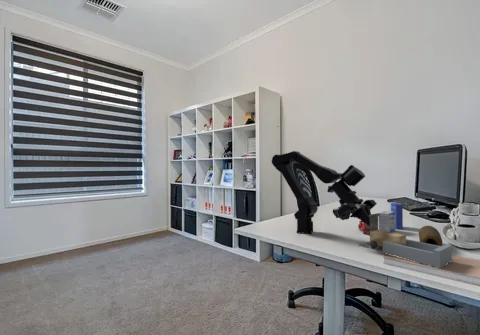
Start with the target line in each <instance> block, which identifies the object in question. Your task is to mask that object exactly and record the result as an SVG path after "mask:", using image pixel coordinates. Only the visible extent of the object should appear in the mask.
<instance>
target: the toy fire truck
mask: <svg viewBox="0 0 480 335" xmlns="http://www.w3.org/2000/svg"><path fill="white" fill-rule="evenodd" d="M358 222H359V223H358V227H357V228H358V230H359V231H360V232H362V234H365V235H370V226H368V225H367V224H366V223H364V222H363V221H361V220H359V221H358Z"/></svg>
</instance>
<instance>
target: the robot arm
mask: <svg viewBox="0 0 480 335" xmlns="http://www.w3.org/2000/svg"><path fill="white" fill-rule="evenodd" d="M293 162H296V163H297V164H298V165H301V166H302V167H304V168H306V169H307V170H308V171H311V173H313V174H314V175H315V176H316V178H317V179H318V180H320V181H321V182H322V183H323V184H332V185H328V187H327V192H328V193H331V194H332V193H335V195H336V196H337V197H338V199H339V200H338V203H339V204H340V205H339V207H338V208H333V209H332V214H333V215H334V216H335V218H336V219H340V220H342V221H344V220H349V219H350V218H355V219H358V220H359V221H363V222H364V223H366V224H367V225H368V226H370V217H369V215H371V210H372V209H373V208H374V207H375V206H376V205H377V202H376V201H375V200H374V199H366V200H364V199H363V198H359V196H357V195H356V194H357V191H356V190H352V188H350V187H356V185H358V184H359V183H360V182H361V181H363V179H364V178H366V175H365V173H364V172H363V171H362V170H361V169H359V168H358V167H355V166H354V165H353V164H350V165H349V166H348V168H346V170H345V171H343V173H341V172H338V171H336V170H335V169H332V168H330V167H326V166H323V165H320V164H318V163H317V162H315V161H314V160H313V159H311V158H309V157H307V156H305V155H304V154H302V153H300V151H295V150H293V151H289V152H286V153H283V154H274V155H273V156H272V158H271V165H272V166H273V167H274V168H275V169H276V170H277V172H280V173H281V175H282V177H283V178H284V180H285V182H286V183H287V185H288V186H289V188H290V190H291V192H292V193H293V195H294V197H295V199H296V204H297V206H296V207H297V209H298V210H297V211H295V213H294V214H293V216H294V219H295V220H296V224H297V225H296V233H297V234H313V232H314V221H312V218H314V217H315V214H316V213H317V212H318V208H319V207H318V203H317V202H316V201H315V198H314V197H313V196H311V195H310V196H308V195H307V194H306V192H305V190H304V189H303V186H302V185H301V183H300V182H299V180H298V178H297V177H296V175H295V174H294V172H293V171H292V167H291V163H293Z"/></svg>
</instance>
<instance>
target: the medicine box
mask: <svg viewBox="0 0 480 335" xmlns="http://www.w3.org/2000/svg"><path fill="white" fill-rule="evenodd" d="M378 213H379V216H378V230H383V231H388V232H395V231H396V229H395V212H391V211H389V210H385V211H382V212H378Z"/></svg>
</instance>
